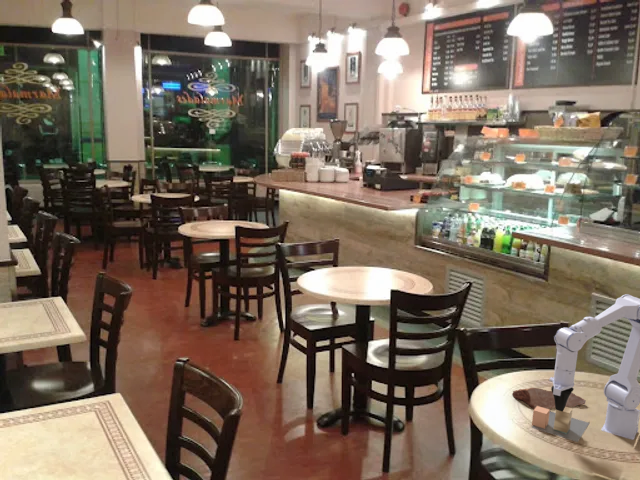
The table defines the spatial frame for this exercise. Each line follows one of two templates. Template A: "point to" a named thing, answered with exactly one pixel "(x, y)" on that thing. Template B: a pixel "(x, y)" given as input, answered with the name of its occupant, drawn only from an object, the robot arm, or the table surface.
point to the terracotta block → (540, 417)
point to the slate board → (573, 434)
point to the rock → (544, 398)
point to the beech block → (563, 420)
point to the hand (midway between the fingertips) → (559, 409)
